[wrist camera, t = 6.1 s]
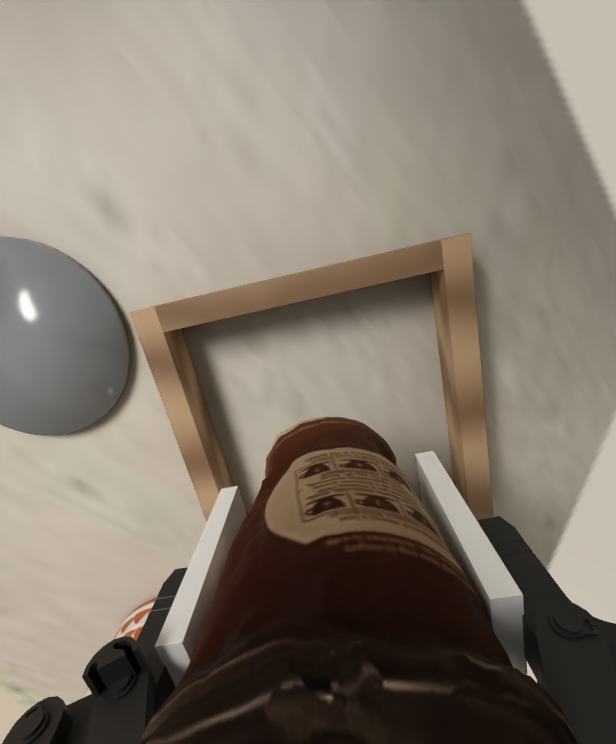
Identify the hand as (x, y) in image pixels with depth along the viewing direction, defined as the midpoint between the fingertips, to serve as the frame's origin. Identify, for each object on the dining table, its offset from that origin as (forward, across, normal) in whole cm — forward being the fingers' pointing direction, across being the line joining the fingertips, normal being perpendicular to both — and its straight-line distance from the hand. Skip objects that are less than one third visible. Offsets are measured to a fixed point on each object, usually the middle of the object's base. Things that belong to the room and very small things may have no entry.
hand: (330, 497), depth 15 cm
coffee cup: (+2, 0, 0) cm, 2 cm away
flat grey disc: (+9, -18, +9) cm, 22 cm away
